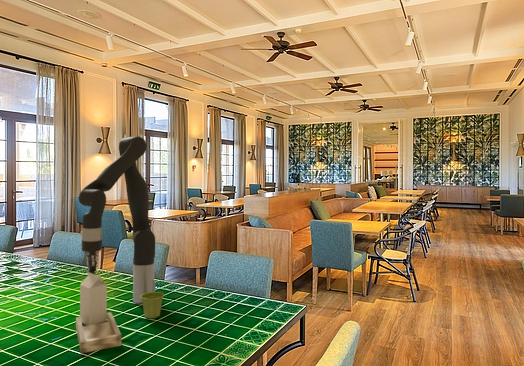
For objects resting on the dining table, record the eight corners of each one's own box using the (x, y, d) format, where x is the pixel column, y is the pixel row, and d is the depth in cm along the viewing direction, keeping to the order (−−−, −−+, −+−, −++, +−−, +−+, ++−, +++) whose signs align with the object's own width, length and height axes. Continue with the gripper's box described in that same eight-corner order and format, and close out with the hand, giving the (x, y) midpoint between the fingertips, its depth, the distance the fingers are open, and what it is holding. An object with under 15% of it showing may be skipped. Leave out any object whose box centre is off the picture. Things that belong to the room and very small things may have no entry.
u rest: (111, 320, 154) (111, 312, 154) (121, 345, 132) (121, 335, 132) (75, 326, 148) (75, 317, 148) (80, 353, 126) (80, 342, 126)
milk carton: (89, 327, 148) (89, 278, 146) (79, 321, 152) (80, 274, 151) (106, 321, 153) (107, 274, 152) (96, 316, 158) (97, 270, 156)
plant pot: (139, 313, 162) (139, 292, 162) (162, 310, 166) (162, 290, 166) (140, 321, 154) (141, 299, 153) (165, 318, 157) (165, 297, 157)
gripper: (104, 241, 152) (103, 284, 153) (100, 235, 163) (99, 275, 164) (83, 242, 148) (82, 287, 149) (80, 236, 160) (80, 277, 161)
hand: (91, 281), depth 157 cm, fingers closed
